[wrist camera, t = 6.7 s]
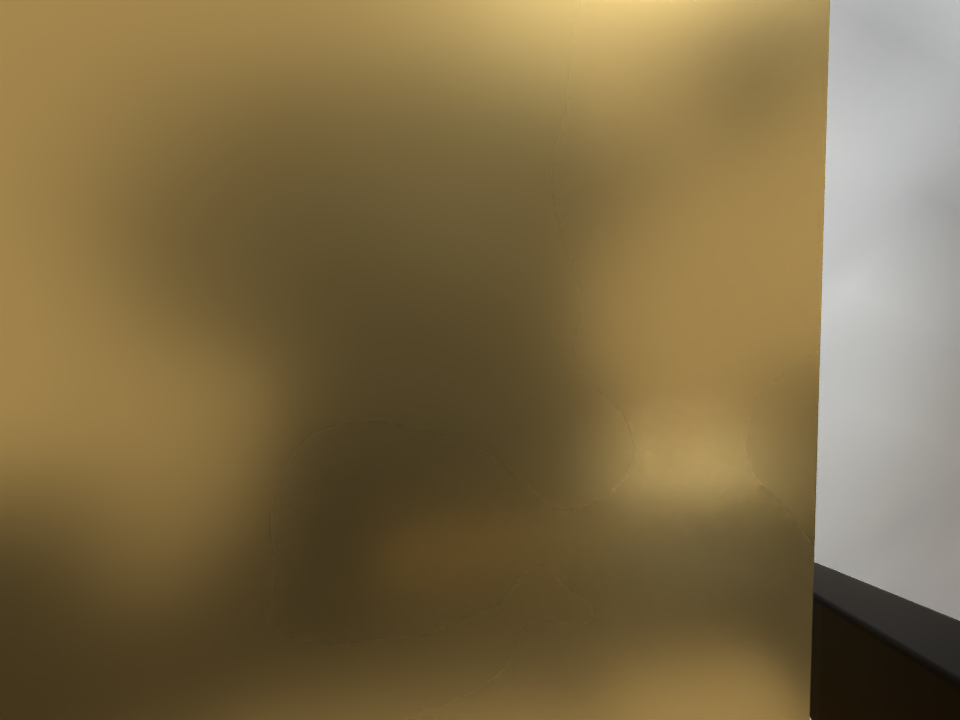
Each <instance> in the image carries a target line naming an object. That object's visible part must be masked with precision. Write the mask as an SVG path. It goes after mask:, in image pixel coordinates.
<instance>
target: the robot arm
mask: <svg viewBox="0 0 960 720" xmlns="http://www.w3.org/2000/svg"><path fill="white" fill-rule="evenodd" d="M810 718H811V719H812V720H960V621H958V620H956V619H954V618H951V617H949V616H946V615H944V614H941V613H939V612H936V611H934V610H931V609H929V608H926V607H924V606H921V605H919V604H917V603H914V602H912V601H909V600H907V599H904V598H902V597H899V596H897V595H894V594H892V593H889V592H887V591H884V590H882V589H879V588H877V587H875V586H872V585H870V584H867V583H865V582H862V581H860V580H857V579H855V578H852V577H850V576H847V575H845V574H842V573H840V572H838V571H835V570H833V569H830V568H828V567H825V566H823V565H820V564H818V563H815V562H814V576H813V611H812V646H811V681H810Z"/></svg>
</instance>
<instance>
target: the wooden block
mask: <svg viewBox="0 0 960 720" xmlns="http://www.w3.org/2000/svg"><path fill="white" fill-rule="evenodd" d="M829 15H830V0H0V720H809V717H810V681H811V646H812V611H813V576H814V541H815V506H816V471H817V436H818V401H819V366H820V331H821V296H822V260H823V225H824V190H825V155H826V120H827V85H828V50H829Z"/></svg>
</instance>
